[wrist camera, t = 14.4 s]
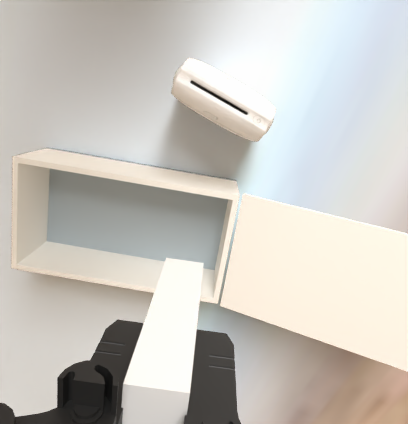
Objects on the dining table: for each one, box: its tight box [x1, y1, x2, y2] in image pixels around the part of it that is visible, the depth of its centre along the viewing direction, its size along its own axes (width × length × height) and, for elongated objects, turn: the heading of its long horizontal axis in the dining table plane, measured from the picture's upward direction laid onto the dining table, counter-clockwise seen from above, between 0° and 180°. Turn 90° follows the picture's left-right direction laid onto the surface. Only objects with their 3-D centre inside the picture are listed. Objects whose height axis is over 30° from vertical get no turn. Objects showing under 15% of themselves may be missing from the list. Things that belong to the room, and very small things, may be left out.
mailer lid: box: [220, 193, 408, 372], centre depth 35 cm, size 13×25×2 cm, turn 80°
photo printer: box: [171, 58, 276, 142], centre depth 36 cm, size 10×4×12 cm, turn 61°
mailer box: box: [11, 148, 240, 304], centre depth 43 cm, size 13×24×8 cm, turn 80°
